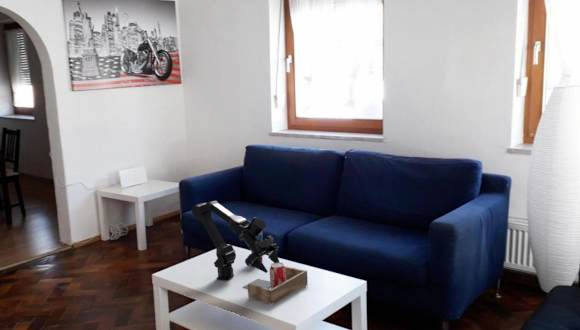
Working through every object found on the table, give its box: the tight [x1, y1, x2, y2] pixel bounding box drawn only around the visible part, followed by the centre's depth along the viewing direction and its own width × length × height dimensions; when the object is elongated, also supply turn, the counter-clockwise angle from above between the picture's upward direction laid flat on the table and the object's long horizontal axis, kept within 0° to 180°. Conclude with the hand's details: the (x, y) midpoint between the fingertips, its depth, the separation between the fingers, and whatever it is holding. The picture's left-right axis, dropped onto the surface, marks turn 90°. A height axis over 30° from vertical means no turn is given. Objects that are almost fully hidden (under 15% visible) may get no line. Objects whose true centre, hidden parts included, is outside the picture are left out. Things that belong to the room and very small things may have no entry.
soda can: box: [269, 262, 287, 289], centre depth 242 cm, size 7×7×12 cm
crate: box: [247, 265, 309, 305], centre depth 243 cm, size 13×26×6 cm, turn 144°
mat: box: [242, 278, 271, 290], centre depth 250 cm, size 11×11×1 cm
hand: (273, 269), depth 243 cm, fingers open, 9 cm apart
